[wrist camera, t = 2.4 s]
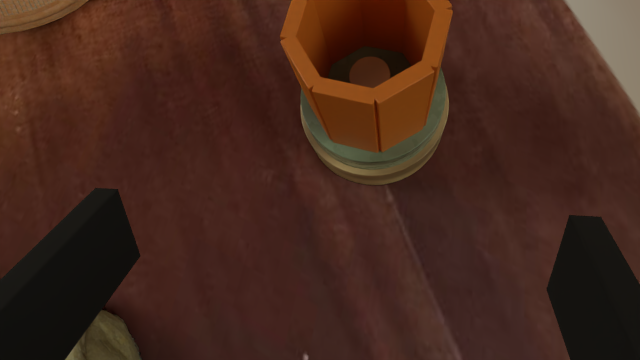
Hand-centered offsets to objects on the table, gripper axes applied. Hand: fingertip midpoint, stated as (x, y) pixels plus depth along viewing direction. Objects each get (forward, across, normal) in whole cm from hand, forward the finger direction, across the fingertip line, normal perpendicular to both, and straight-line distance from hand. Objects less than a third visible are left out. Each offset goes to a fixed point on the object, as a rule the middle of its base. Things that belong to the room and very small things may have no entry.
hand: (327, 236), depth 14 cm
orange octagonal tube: (+17, 0, -2) cm, 17 cm away
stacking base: (+21, 0, -6) cm, 21 cm away
